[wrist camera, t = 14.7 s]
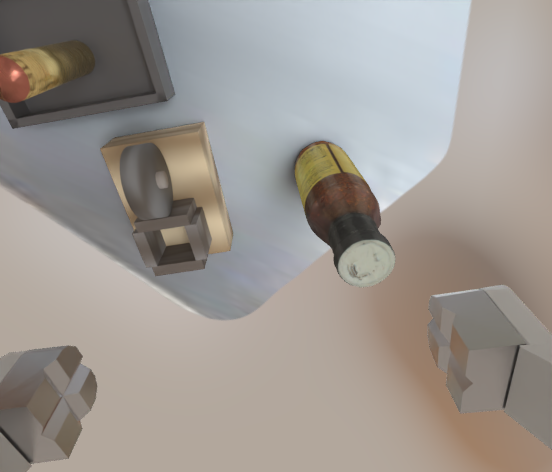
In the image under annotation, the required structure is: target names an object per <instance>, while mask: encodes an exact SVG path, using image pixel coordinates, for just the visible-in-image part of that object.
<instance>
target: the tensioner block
mask: <svg viewBox="0 0 552 472" xmlns="http://www.w3.org/2000/svg"><path fill="white" fill-rule="evenodd" d="M100 150H101V152H102V155H103V157H104V159H105V162H106V164H107V167H108V169H109V171H110V174H111V176H112V179H113V181H114V183H115V186H116V188H117V191H118V193H119V195H120V198H121V200H122V203H123V205H124V207H125V210H126V212H127V215H128V217H129V219H130V222H131V224H132V227H133V229H134V232H133V234H132V235H133V237H134V240H135V242H136V244H137V247H138V249H139V251H140V254H141V256H142V259H143V261H144V263H145V266H146V268H149V267H152V269H153V271H154V273H155V276H159V275H166V274H173V273H180V272H186V271H193V270H200V269H204V268H205V264H206V261H207V257H208V254H213V253H219V252H226V251H230V250H231V244H232V238H233V231H232V227H231V223H230V219H229V216H228V212H227V208H226V204H225V200H224V196H223V193H222V189H221V185H220V181H219V177H218V173H217V169H216V166H215V162H214V158H213V154H212V150H211V146H210V143H209V139H208V135H207V131H206V127H205V123H204V122H201V123H195V124H190V125H184V126H178V127H172V128H167V129H161V130H155V131H150V132H144V133H138V134H132V135H127V136H121V137H115V138H113V139H112V140H111V141H110V142H108V143H107V144H106V145H104V146H103V147H102V148H100Z"/></svg>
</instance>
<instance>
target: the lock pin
mask: <svg viewBox="0 0 552 472" xmlns="http://www.w3.org/2000/svg"><path fill="white" fill-rule="evenodd" d="M94 66H95V58H94V55H93V53H92V51H91V49H90V48H89V47H88V46H87V45H86V44H84V43H82V42H80V41H76V40H72V41H66V42H61V43H56V44H51V45H46V46H40V47H35V48H30V49H25V50H20V51H15V52H9V53H4V54H0V99H1V100H3V101H6V102H10V103H17V102H21V101H23V100H26V99H28V98H31V97H33V96H36V95H38V94H40V93H43V92H45V91H48V90H50V89H53V88H55V87H58V86H60V85H62V84H65V83H67V82H70V81H72V80H75V79H77V78H79V77H82V76H84V75H87V74H89V73H91V72H92V70H93V69H94Z"/></svg>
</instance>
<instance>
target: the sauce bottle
mask: <svg viewBox="0 0 552 472" xmlns="http://www.w3.org/2000/svg"><path fill="white" fill-rule="evenodd" d="M295 179H296V183H297V186H298V190H299V193H300V197H301V201H302V204H303V208H304V211H305V215H306V218H307V221H308V223H309V226H310V227H311V229H312V231H313V232H314V233H315V234H316V235H317V236H318V237H319V238H320V239H322V240H323V241H324V242H325V243H327V244H328V245H329V246H330V247H331V248H332V250H333V253H334V265H335V267H336V269H337V272H338V274H339V275H340V277H341V278H342V279H343V280H344V281H345V282H347V283H348V284H351V285H353V286H357V287H368V286H372V285H375V284H377V283H379V282H381V281H382V280H383V279H385V278H386V277H387V276H388V275H389V274H390V273H391V271H392V269H393V268H394V265H395V254H394V251H393V249H392V247H391V245H390V243H389V242H388V240H387V239H386V238H385V237H384V236H383V235H382V234H380V232H379V231H378V228H379V226H380V224H381V217H380V209H379V204H378V201H377V199H376V198H375V196H374V195H373V193H372V192H371V189H370V187H369V185H368V184H367V182H366V181H365V180H364V178H363V177H362V175H361V174H360V173H359V171H358V170H357V168H356V167H355V165H354V164H353V162H352V161H351V160H350V158H349V157H348V155H347V154H346V153H345V152H344V151H343V150H342V148H340V147H338V146H336V145H335V144H332V143H329V142H325V141H319V142H315V143H312V144H311V145H309V146H307V147H306V148H304V149H303V150H302V151H301V152H300V154H299V156H298V158H297V161H296V163H295Z"/></svg>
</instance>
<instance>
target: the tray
mask: <svg viewBox="0 0 552 472" xmlns="http://www.w3.org/2000/svg"><path fill="white" fill-rule="evenodd" d="M72 40H76V41H80V42H82V43H84V44H86V45H87V46H88V47H89V48H90V49H91V51H92V53H93V55H94V58H95V66H94V69H93V70H92V72H91V73H89V74H87V75H84V76H82V77H79V78H77V79H75V80H72V81H70V82H67V83H65V84H62V85H60V86H58V87H55V88H53V89H50V90H48V91H45V92H43V93H40V94H38V95H36V96H33V97H31V98H28V99H26V100H23V101H21V102H17V103H10V102H6V101H3V100H1V99H0V105H1V107H2V109H3V111H4V113H5V115H6V117H7V119H8V121H9V123H10V125H11V126H12V128H13V129H14V128H19V127H25V126H30V125H36V124H41V123H47V122H52V121H58V120H64V119H69V118H75V117H80V116H86V115H91V114H97V113H102V112H108V111H114V110H119V109H125V108H130V107H136V106H141V105H147V104H152V103H158V102H163V101H168V100H169V99H170V98H171V97H173V96H174V95H175V92H174V88H173V85H172V81H171V78H170V75H169V71H168V68H167V64H166V61H165V57H164V54H163V50H162V47H161V43H160V40H159V36H158V33H157V29H156V26H155V23H154V19H153V16H152V12H151V9H150V5H149V2H148V0H0V54H4V53H9V52H15V51H20V50H25V49H30V48H35V47H40V46H46V45H51V44H56V43H61V42H66V41H72Z"/></svg>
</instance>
